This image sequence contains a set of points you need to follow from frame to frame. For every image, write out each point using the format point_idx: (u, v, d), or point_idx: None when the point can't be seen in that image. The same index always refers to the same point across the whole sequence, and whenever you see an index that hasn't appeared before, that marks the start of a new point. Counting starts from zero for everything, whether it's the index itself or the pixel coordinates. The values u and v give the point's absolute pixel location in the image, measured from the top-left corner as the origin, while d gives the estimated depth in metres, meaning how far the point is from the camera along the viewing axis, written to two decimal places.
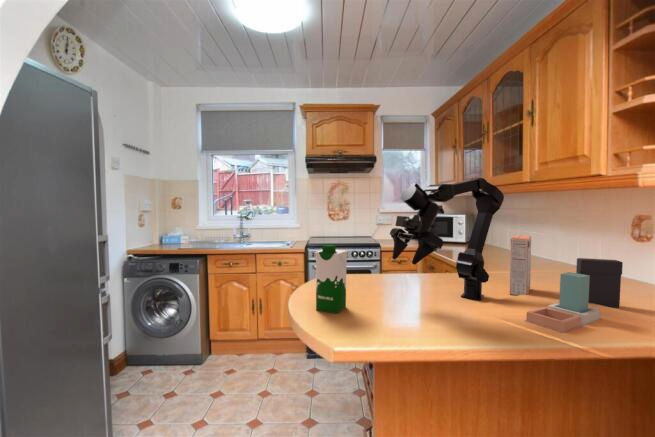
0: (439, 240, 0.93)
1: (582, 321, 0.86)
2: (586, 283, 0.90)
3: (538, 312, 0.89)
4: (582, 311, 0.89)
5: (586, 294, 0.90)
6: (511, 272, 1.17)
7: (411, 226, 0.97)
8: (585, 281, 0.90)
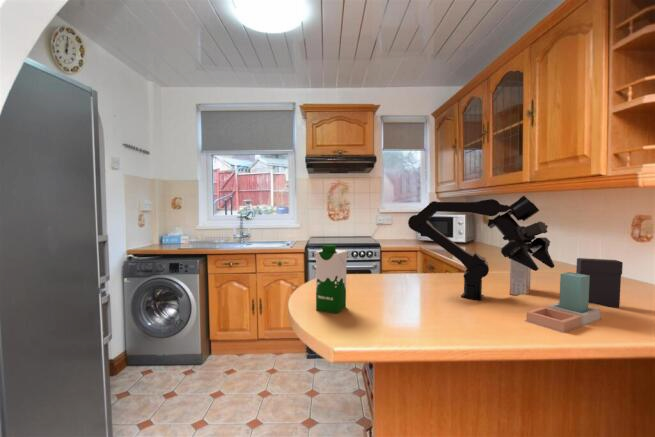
0: None
1: (582, 321, 0.86)
2: (586, 283, 0.90)
3: (538, 312, 0.89)
4: (582, 311, 0.89)
5: (586, 294, 0.90)
6: (511, 272, 1.17)
7: None
8: (585, 281, 0.90)
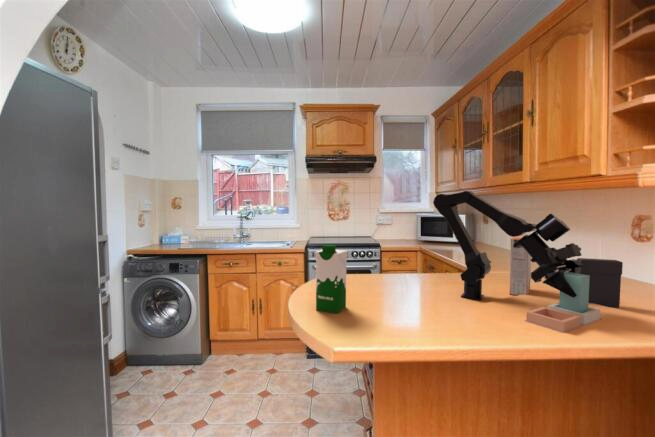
0: None
1: (582, 321, 0.86)
2: (586, 283, 0.90)
3: (538, 312, 0.89)
4: (582, 311, 0.89)
5: (586, 294, 0.90)
6: (511, 272, 1.17)
7: None
8: (585, 281, 0.90)
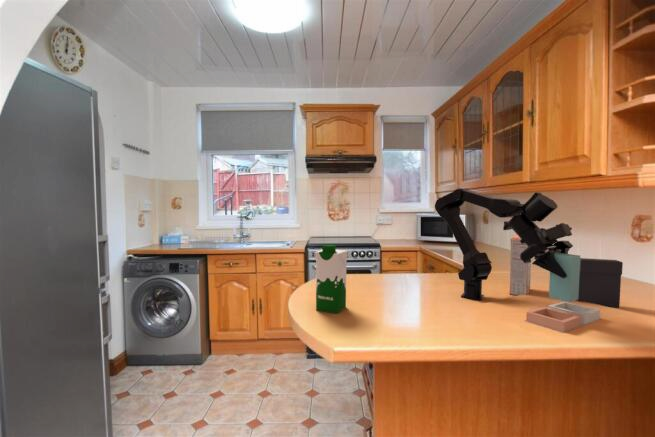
0: None
1: (582, 321, 0.86)
2: (577, 263, 0.87)
3: (538, 312, 0.89)
4: (573, 292, 0.86)
5: (577, 275, 0.87)
6: (511, 272, 1.17)
7: None
8: (576, 261, 0.86)
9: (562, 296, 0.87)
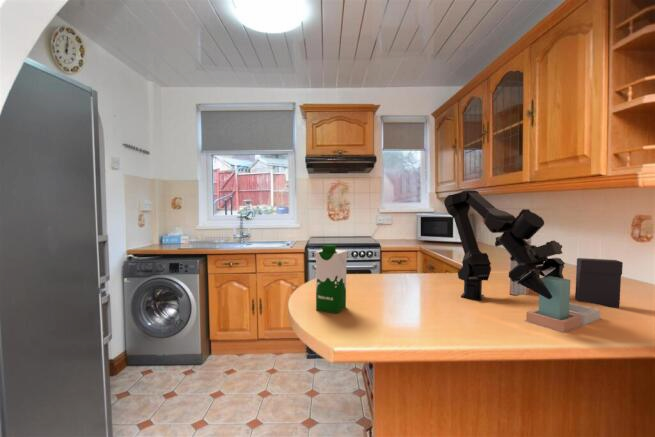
0: None
1: (582, 321, 0.86)
2: (567, 288, 0.84)
3: (538, 312, 0.89)
4: (562, 318, 0.84)
5: (567, 300, 0.85)
6: None
7: None
8: (566, 286, 0.84)
9: None
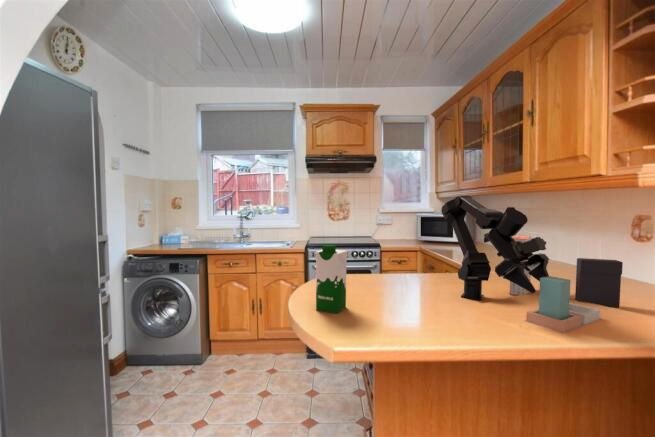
0: None
1: (582, 321, 0.86)
2: (567, 288, 0.84)
3: (538, 312, 0.89)
4: (562, 318, 0.84)
5: (567, 300, 0.85)
6: None
7: None
8: (566, 286, 0.84)
9: None
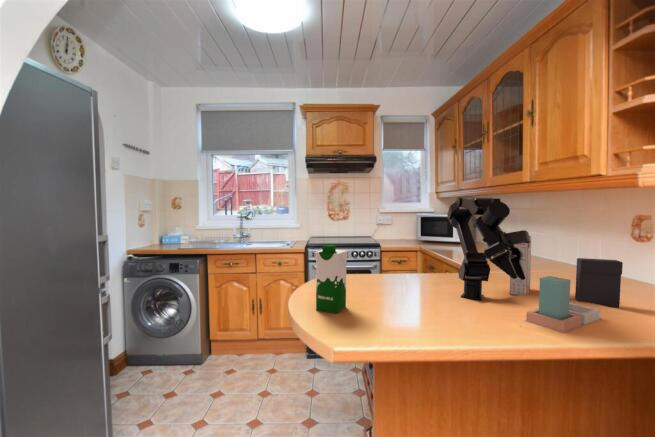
0: None
1: (582, 321, 0.86)
2: (567, 288, 0.84)
3: (538, 312, 0.89)
4: (562, 318, 0.84)
5: (567, 300, 0.85)
6: None
7: None
8: (566, 286, 0.84)
9: None
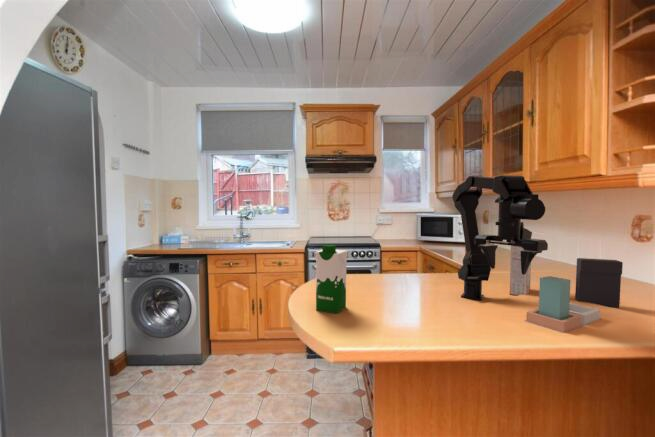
0: None
1: (582, 321, 0.86)
2: (567, 288, 0.84)
3: (538, 312, 0.89)
4: (562, 318, 0.84)
5: (567, 300, 0.85)
6: (511, 272, 1.17)
7: None
8: (566, 286, 0.84)
9: None
